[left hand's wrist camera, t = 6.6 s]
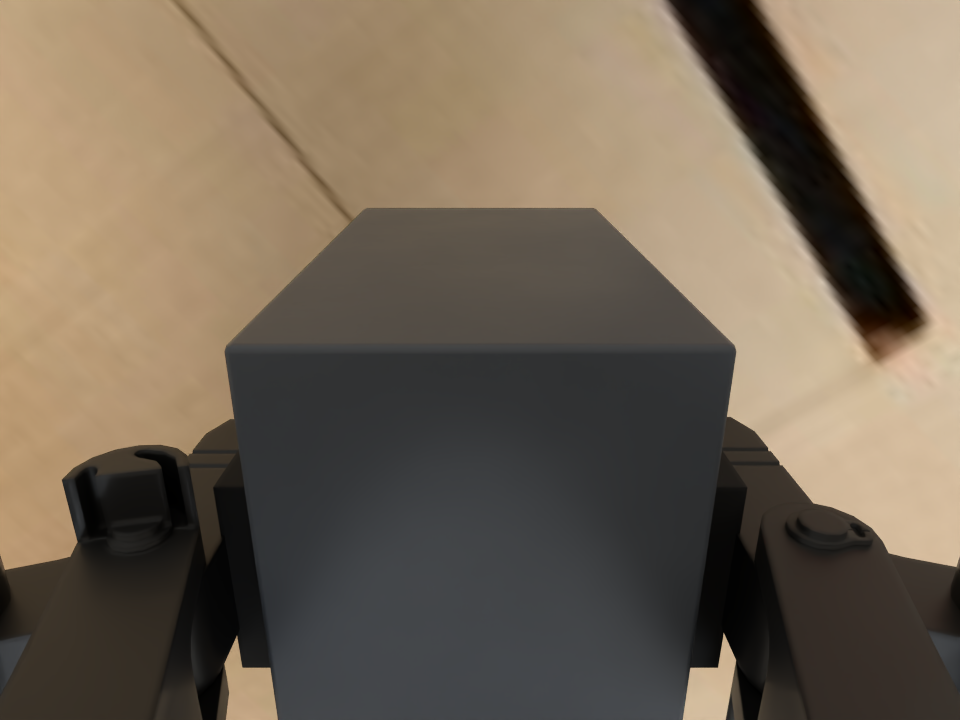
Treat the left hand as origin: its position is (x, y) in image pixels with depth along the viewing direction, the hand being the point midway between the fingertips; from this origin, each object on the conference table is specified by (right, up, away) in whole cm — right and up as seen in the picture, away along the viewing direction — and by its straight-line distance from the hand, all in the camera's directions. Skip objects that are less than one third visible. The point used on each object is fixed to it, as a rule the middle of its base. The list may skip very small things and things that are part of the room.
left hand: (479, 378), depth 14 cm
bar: (0, -8, +4) cm, 9 cm away
